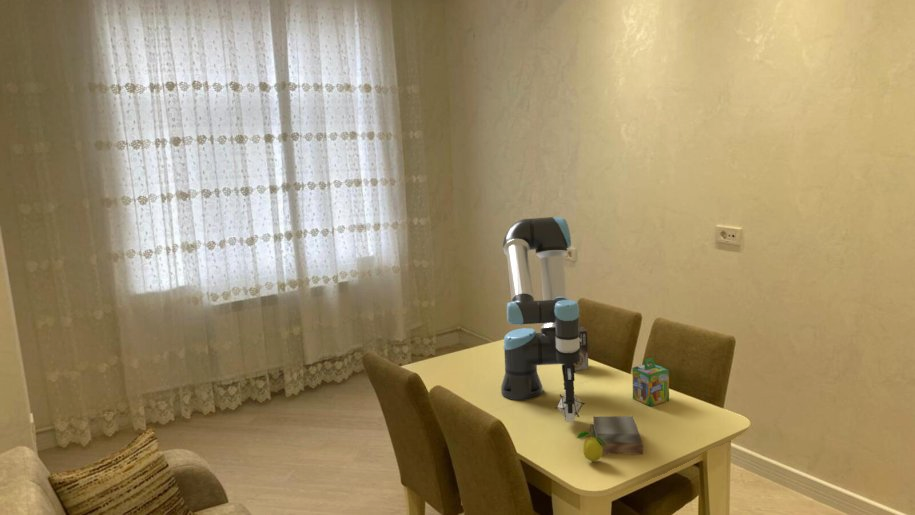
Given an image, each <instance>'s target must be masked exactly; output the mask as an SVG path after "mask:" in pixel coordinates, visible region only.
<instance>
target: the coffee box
mask: <svg viewBox="0 0 915 515" xmlns="http://www.w3.org/2000/svg"><path fill="white" fill-rule="evenodd" d="M579 339H581V340H582V341H581V342H579V343H580V348H579V350H580V361H579V362H577V363H574V364H572V365H574V368H575V371H581V370H582V371H583V370H589V347H588V345H589V344H588V330H586V328H585V327H584V326H582V325H581V326H579ZM562 365H564V364H562Z"/></svg>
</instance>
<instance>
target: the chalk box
mask: <svg viewBox="0 0 915 515" xmlns="http://www.w3.org/2000/svg"><path fill="white" fill-rule="evenodd" d="M649 362H650V363H649ZM631 369H632V370H631V371H632V400H635V401H638V402H639V403H642V404H644V405H647V406H649V407H652V406H655V405H659V404H662V403H666V401H667V402H669V401H670V370H669V368H668V369H667V368H665V367H663V366H661V365H657V364H656V363H655V358H654V357H650V358H646V359H643V364H642V365H638V366H634V367H632V368H631Z"/></svg>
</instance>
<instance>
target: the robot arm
mask: <svg viewBox="0 0 915 515" xmlns="http://www.w3.org/2000/svg"><path fill="white" fill-rule="evenodd" d="M571 238H572V237H571V233H570V228H569V225H568V221H567V220H566V219H565V218H564V217H563V216H561V217H560V216H559V217H554V216H550V217H549V216H548V217H536V218H534V217H533V218H522V219H519V220H518V221H516V222H514V224H512V225H511V226H510V227H509V228H508V230H507V231H506V233H505V235H504V238H503V241H502V248H503V249H502V250H503V253H504V255H505V256H506V258H507V260H506V261H507V269H508V270H507V271H508V272H507V273H508V279H509V281H508V282H509V287H510V288H509V289H510V297H511V298H510V299H511V301H510V302H507V303H506V318H507V322H508V324H509V325H516V326H517V325H520V326H522V325H530V324H531V325H533V324H534V325H535V324H542V326H541V327H540V332H536V330H535V329H534V328H532V327H531V328H528V327H523V328H522V327H521V328H517V329H513V330H510V331H509V332H508V333H506V334H505V335H504V337H503V350H504V376H503V380H502V383H501V386H500V391H501V392H500V393H501V395H502V396H503V397H504V398H507V399H510V400H516V401H526V400H527V401H529V400H533V399H536V398H539V397H540V396H541V395H542V394H543V384H542V382H541V381H542V380H541V379H540V376H539V374H538V368H537V367H538V366H548V365H553V366H554V365H561V370H562V372H561V373H562V378H563V386H564V387H563V393H564V394H563V396H564V395H566V402H564V404H565V405H566V421H565V422H566V423H574V422H575V419H576V418H575V417H576V416H574V403H575V401H574V395H575V384H574V381H575V373H576V370H575V368H574V365H572V364H574V363H577V362H579V361H580V350H579V348H580V343H579V342H581V341H582V340H581V339H579V327H580V304H579V303H578V302H577V301H575V300H571V299H569V298H567V288H566V274H565V262H564V257H565V256H566V255H567V253H568V249H569V248H571V245H572V241H571ZM531 250H533V251H534V250H535V256H537V257H538V258H539V259H540V260H539V261H540V273H541V275H540V276H541V277H540V278H541V289H542V300H535V298H534V290H533V283H532V275H531V267H530V262H529V260H530V259H529V252H530V251H531ZM563 364H564V365H563Z"/></svg>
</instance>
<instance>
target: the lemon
mask: <svg viewBox="0 0 915 515" xmlns="http://www.w3.org/2000/svg"><path fill="white" fill-rule="evenodd" d="M591 433H592V437H591V436H590V437H588V438H587V439H585V440H584V443H583V446H582V452H583V455H584V458H586V459H587V460H588V461H591V463H595V462H596V461H599V460H601V458H602V457H603V456H602V455H603V454H602V453H603V449H602V445H601V443H600V441H601V442H602V443H603V444H604V445H605V443H604V441H603V440H602V439H601V438H599V437H596V436H594V435H593V429H592V432H591ZM589 435H591V434H590V432H588V431H585V430H584V431H581V432H580V433H578V434H577V437H576V439H582V438H585V437H587V436H589ZM593 436H594V437H596V438H594V437H593ZM605 447H606V445H605ZM606 448H607V447H606Z"/></svg>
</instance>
